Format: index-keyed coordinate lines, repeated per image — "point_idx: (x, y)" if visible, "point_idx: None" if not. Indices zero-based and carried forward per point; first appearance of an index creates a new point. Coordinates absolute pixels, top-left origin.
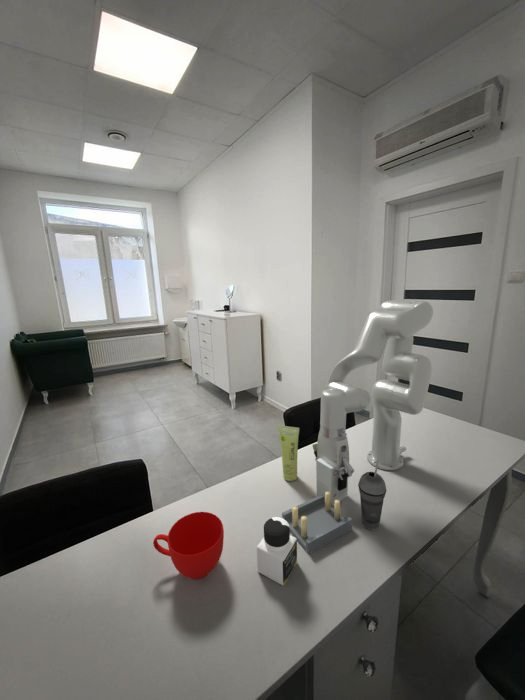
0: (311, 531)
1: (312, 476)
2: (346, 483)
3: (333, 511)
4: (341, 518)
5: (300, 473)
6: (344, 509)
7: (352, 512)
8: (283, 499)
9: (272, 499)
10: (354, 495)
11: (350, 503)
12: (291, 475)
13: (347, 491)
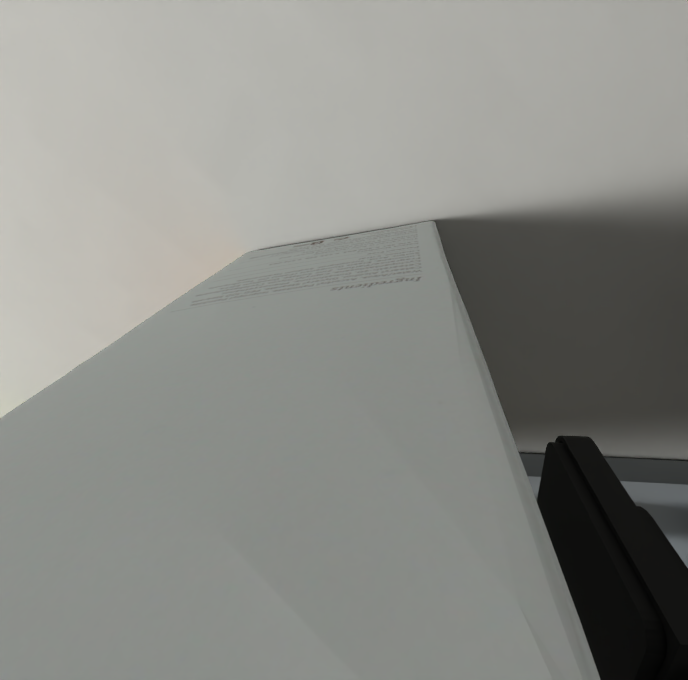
0: None
1: (74, 319)
2: (679, 564)
3: (537, 492)
4: (635, 496)
5: (19, 374)
6: (544, 369)
7: (619, 340)
8: None
9: None
10: (475, 147)
11: (530, 274)
12: None
13: (438, 233)
